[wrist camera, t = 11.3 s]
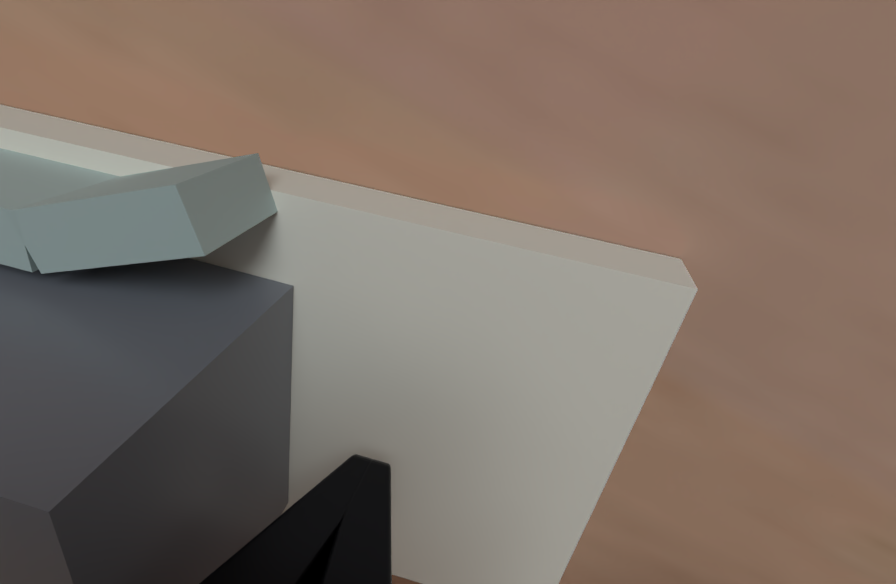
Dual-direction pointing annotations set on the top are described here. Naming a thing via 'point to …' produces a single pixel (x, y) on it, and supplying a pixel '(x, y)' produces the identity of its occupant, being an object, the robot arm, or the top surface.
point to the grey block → (140, 420)
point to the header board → (387, 330)
